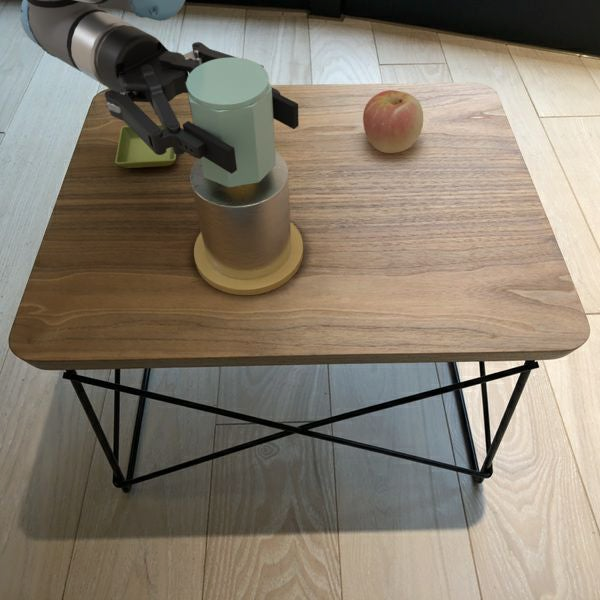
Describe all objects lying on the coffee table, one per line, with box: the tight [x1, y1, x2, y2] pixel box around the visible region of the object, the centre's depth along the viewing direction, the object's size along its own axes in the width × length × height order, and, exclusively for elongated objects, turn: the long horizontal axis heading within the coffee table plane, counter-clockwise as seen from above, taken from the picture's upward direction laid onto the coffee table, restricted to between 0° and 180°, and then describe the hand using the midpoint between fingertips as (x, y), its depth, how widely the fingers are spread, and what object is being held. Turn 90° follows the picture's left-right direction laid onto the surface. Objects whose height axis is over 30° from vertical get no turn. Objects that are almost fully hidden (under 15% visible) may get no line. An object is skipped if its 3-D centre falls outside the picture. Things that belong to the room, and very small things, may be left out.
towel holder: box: [189, 150, 304, 296], centre depth 70 cm, size 14×14×24 cm
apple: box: [362, 89, 424, 154], centre depth 89 cm, size 9×9×8 cm
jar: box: [186, 56, 276, 187], centre depth 63 cm, size 8×8×10 cm
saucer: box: [114, 123, 177, 169], centre depth 91 cm, size 9×9×2 cm
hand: (265, 138), depth 61 cm, fingers closed on jar, 8 cm apart
